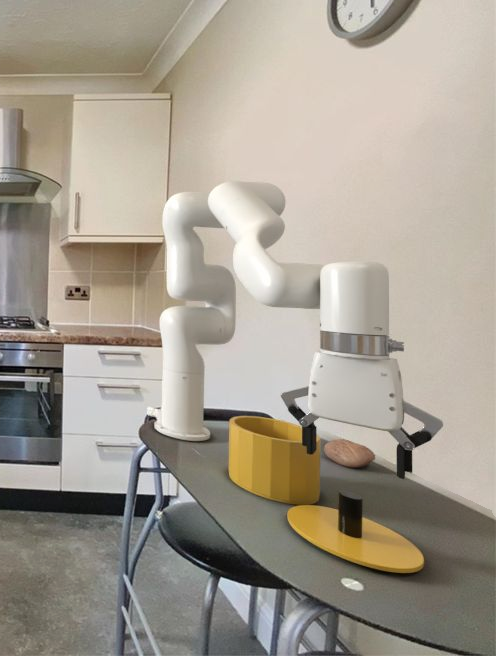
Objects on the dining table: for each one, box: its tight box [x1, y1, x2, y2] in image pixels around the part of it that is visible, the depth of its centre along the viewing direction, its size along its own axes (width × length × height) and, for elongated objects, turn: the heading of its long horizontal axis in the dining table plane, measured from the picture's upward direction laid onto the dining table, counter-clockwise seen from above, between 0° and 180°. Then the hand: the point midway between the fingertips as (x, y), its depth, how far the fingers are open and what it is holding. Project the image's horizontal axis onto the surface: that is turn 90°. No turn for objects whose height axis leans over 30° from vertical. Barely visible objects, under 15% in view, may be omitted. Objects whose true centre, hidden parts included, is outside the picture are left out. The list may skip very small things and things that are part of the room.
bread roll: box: [323, 438, 376, 469], centre depth 86 cm, size 8×6×8 cm
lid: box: [286, 489, 425, 574], centre depth 58 cm, size 15×15×7 cm
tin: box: [227, 415, 322, 506], centre depth 75 cm, size 14×14×10 cm
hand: (353, 463), depth 58 cm, fingers open, 9 cm apart
